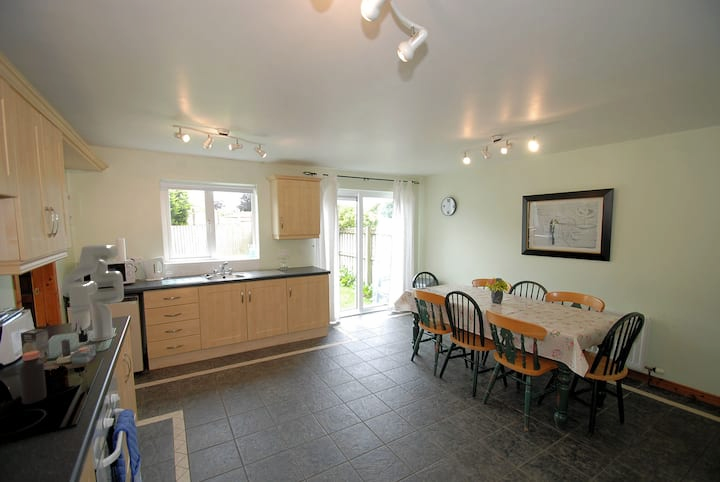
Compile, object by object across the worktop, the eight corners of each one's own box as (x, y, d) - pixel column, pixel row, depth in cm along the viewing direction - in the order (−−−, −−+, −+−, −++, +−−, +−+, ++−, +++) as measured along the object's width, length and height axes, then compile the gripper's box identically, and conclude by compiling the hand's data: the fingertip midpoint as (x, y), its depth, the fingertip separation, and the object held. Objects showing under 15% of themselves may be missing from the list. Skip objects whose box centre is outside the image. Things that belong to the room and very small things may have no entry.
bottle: (31, 405, 122) (26, 357, 121) (18, 403, 124) (13, 356, 122) (51, 396, 129) (47, 350, 128) (38, 394, 130) (34, 349, 129)
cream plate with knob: (64, 357, 160) (62, 338, 160) (76, 355, 162) (75, 336, 162) (56, 363, 153) (55, 343, 153) (69, 361, 155) (68, 342, 155)
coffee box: (22, 362, 162) (19, 333, 161) (36, 357, 169) (33, 328, 168) (37, 362, 161) (34, 333, 160) (50, 357, 168) (48, 329, 167)
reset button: (81, 353, 161) (80, 347, 161) (89, 352, 163) (89, 346, 163) (78, 355, 158) (78, 350, 158) (86, 354, 160) (86, 349, 160)
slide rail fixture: (41, 365, 158) (40, 352, 158) (96, 356, 168) (95, 344, 167) (28, 375, 147) (26, 361, 147) (87, 365, 157) (86, 352, 156)
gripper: (77, 305, 164) (80, 337, 166) (64, 313, 151) (67, 348, 153) (95, 303, 168) (97, 335, 169) (83, 311, 154) (87, 345, 156)
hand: (83, 341), depth 161 cm, fingers closed
